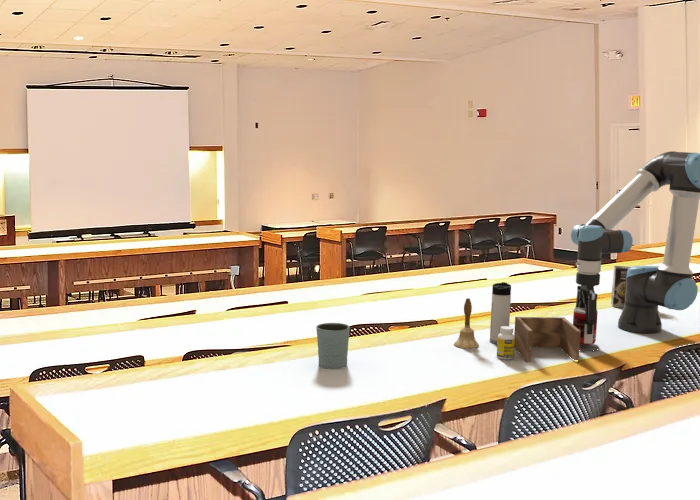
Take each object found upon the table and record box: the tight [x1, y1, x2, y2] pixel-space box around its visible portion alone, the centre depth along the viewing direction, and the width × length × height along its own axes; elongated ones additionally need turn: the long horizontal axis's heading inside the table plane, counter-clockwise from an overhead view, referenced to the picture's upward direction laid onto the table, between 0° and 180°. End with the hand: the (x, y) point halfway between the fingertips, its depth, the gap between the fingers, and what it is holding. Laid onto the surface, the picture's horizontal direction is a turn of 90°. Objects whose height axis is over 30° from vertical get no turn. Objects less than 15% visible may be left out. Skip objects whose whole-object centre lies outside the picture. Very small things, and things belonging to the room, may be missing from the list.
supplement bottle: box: [496, 325, 515, 361], centre depth 274 cm, size 5×5×10 cm
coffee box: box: [610, 265, 631, 309], centre depth 352 cm, size 9×6×16 cm
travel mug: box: [489, 281, 512, 345], centre depth 292 cm, size 6×7×20 cm
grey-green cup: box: [316, 322, 351, 370], centre depth 262 cm, size 10×10×12 cm
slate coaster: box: [579, 343, 600, 352], centre depth 289 cm, size 10×10×1 cm
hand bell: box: [453, 298, 480, 350], centre depth 287 cm, size 8×8×16 cm
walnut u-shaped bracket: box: [513, 316, 581, 363], centre depth 280 cm, size 16×18×10 cm
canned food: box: [572, 307, 599, 345], centre depth 288 cm, size 8×8×11 cm
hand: (583, 339), depth 289 cm, fingers closed on canned food, 8 cm apart
